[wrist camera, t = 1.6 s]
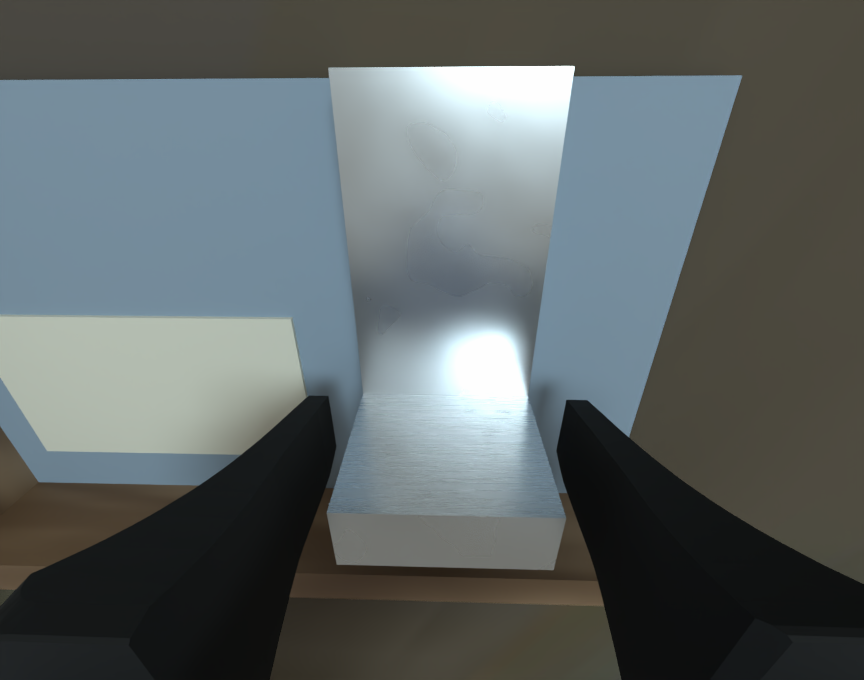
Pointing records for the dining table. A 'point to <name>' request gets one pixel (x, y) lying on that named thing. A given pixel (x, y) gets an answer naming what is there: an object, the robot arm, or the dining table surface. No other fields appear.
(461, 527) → the bracket
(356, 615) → the dining table surface
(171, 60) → the dining table surface
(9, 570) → the walls
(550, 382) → the mat
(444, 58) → the dining table surface
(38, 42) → the dining table surface
